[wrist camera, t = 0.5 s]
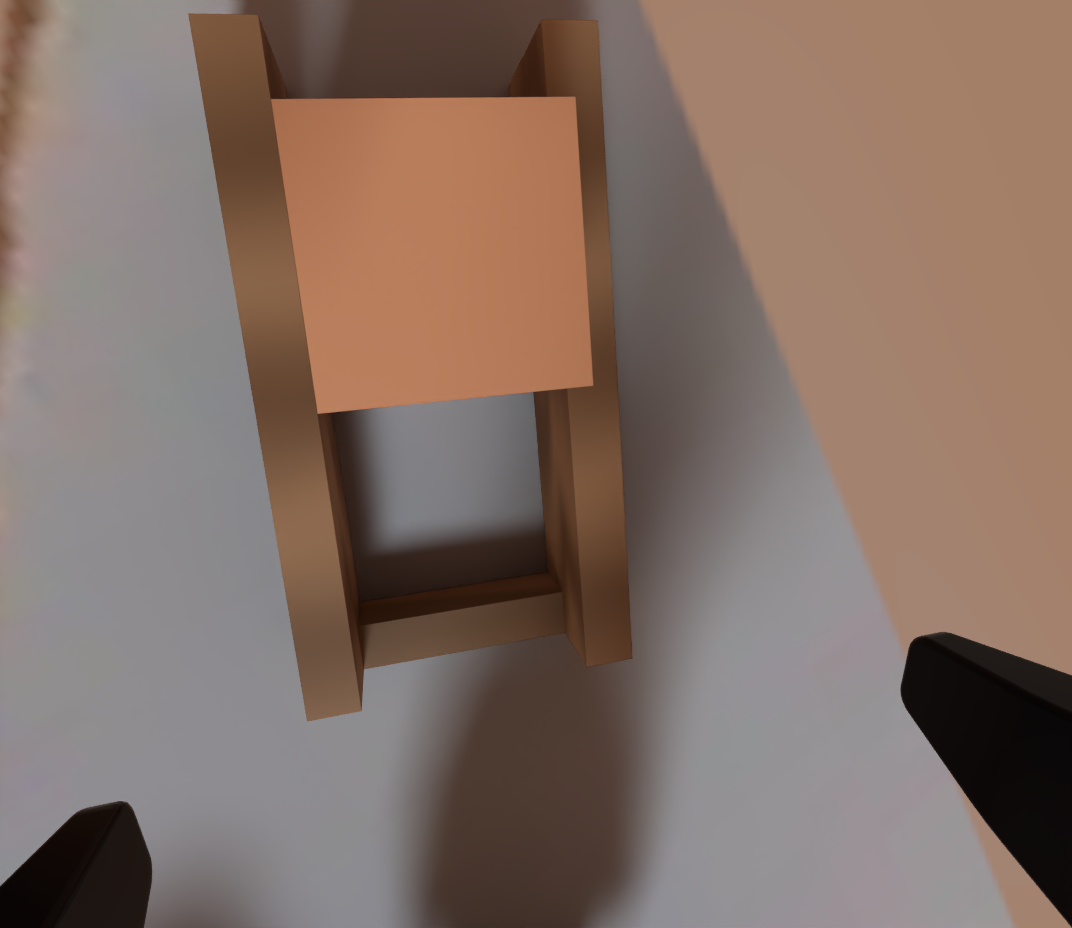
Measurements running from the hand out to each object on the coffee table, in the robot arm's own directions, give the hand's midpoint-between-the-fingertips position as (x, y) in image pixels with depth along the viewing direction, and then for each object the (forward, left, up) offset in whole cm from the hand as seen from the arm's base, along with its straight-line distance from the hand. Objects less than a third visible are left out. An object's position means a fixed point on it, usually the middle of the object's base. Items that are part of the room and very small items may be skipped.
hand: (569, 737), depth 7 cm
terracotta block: (+6, 0, -16) cm, 17 cm away
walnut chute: (+3, 0, -16) cm, 16 cm away
